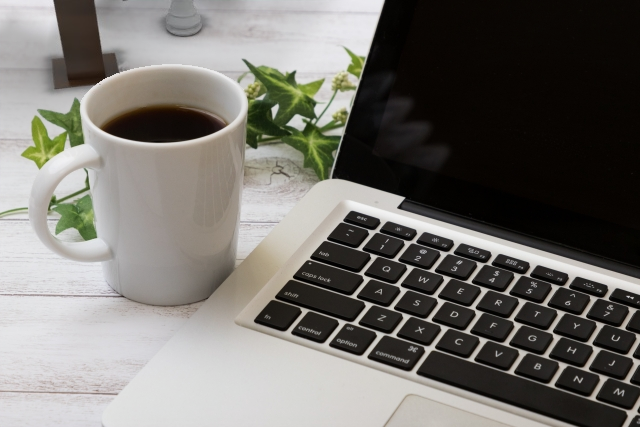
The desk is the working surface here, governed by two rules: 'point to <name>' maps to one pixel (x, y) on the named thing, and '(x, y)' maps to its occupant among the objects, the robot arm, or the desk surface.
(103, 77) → the brown post on base
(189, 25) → the rook chess piece
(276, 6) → the desk surface
